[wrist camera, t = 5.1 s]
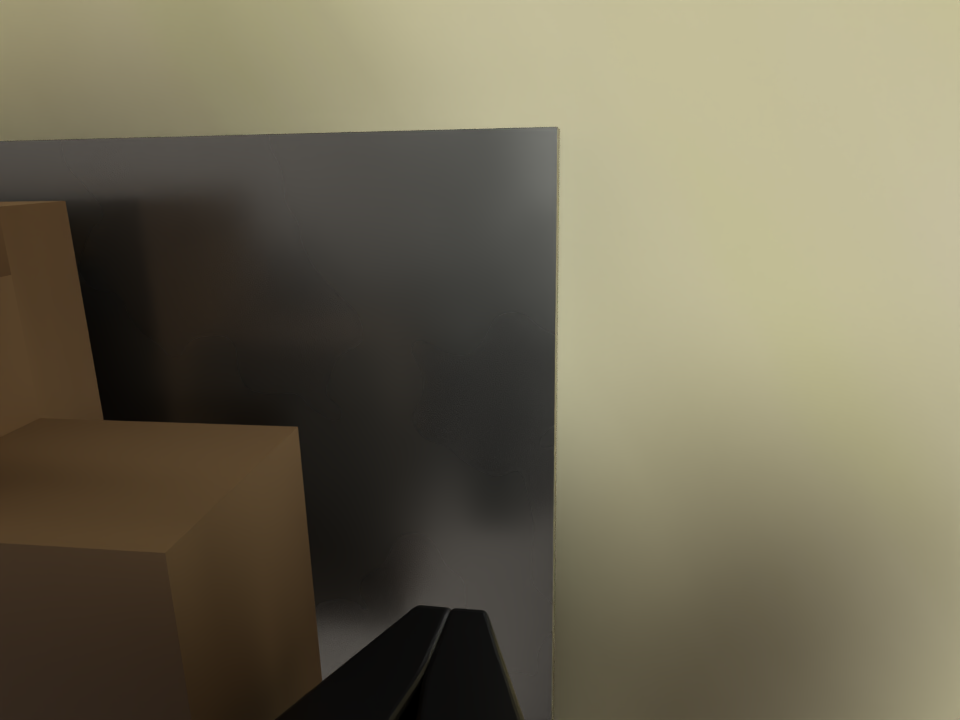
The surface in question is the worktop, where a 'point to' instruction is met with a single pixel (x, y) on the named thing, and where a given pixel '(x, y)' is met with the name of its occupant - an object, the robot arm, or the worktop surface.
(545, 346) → the grey flat slab
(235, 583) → the wooden crate tray
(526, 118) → the worktop surface
